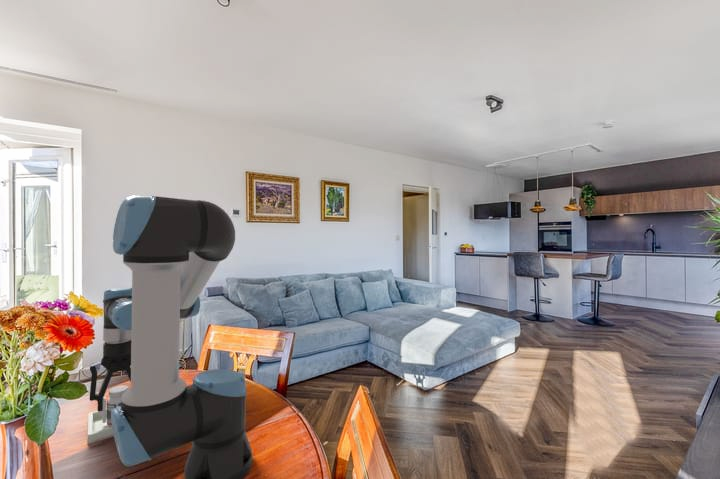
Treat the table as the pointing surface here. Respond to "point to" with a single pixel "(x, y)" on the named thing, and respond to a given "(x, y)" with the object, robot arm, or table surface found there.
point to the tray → (98, 427)
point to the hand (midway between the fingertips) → (118, 416)
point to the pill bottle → (114, 400)
